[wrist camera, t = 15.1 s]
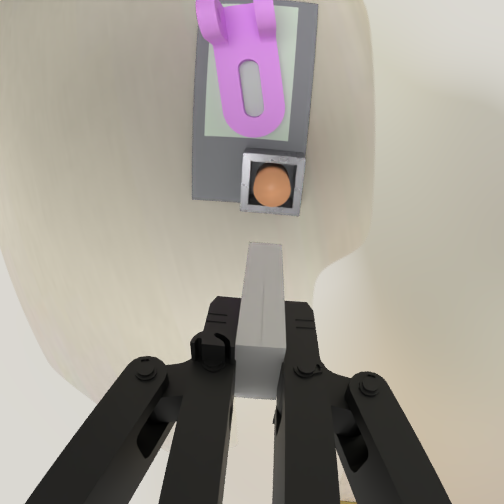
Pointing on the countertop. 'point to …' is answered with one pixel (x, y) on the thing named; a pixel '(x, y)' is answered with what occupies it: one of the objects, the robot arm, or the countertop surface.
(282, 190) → the button
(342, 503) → the cheese
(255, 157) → the button housing
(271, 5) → the bracket
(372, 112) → the countertop surface
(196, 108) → the grey flat plate
